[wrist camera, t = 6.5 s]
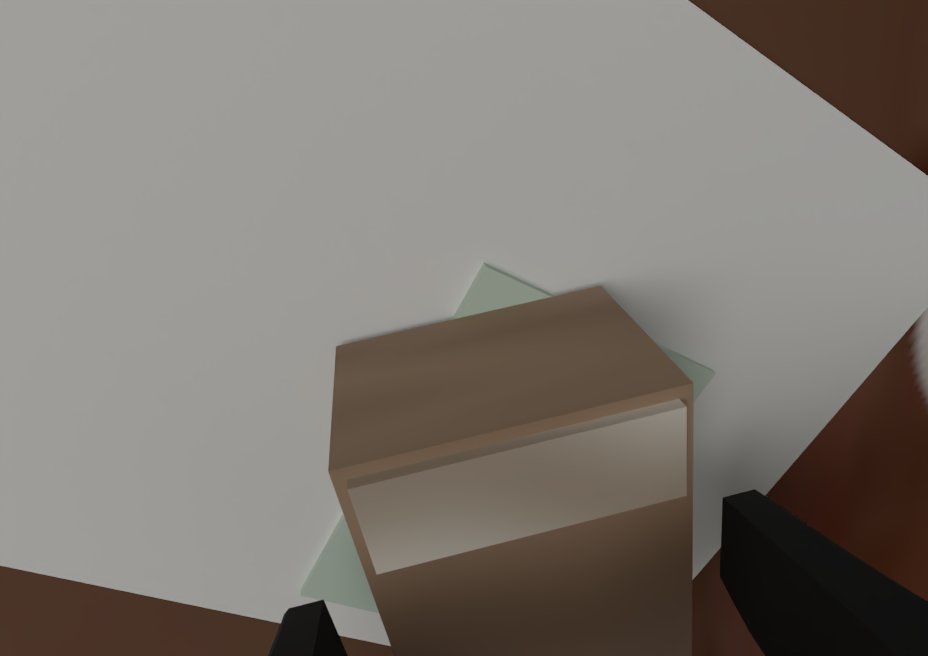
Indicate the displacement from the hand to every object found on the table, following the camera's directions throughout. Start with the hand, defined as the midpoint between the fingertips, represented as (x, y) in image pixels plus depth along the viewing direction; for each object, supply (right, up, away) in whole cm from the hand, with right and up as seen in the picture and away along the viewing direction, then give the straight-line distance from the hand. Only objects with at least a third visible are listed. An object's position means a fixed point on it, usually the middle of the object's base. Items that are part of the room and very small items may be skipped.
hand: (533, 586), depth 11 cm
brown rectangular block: (0, +1, +2) cm, 3 cm away
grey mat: (-3, +4, +1) cm, 5 cm away
